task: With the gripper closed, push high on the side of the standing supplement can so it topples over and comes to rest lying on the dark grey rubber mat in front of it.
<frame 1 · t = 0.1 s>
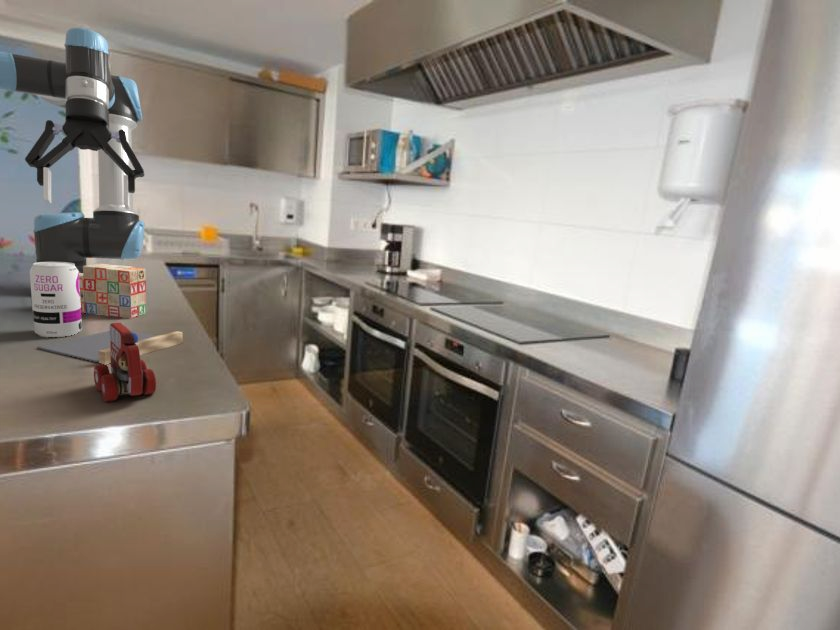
hand: (88, 204, 100), 28 cm above the countertop, tool tilted 20°, fingers open, 13 cm apart
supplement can: (59, 334, 104), on the countertop
mat: (110, 344, 100), on the countertop
stop rail: (144, 352, 97), on the countertop
stack of blocks: (100, 313, 124), on the countertop
toy fire truck: (125, 393, 78), on the countertop
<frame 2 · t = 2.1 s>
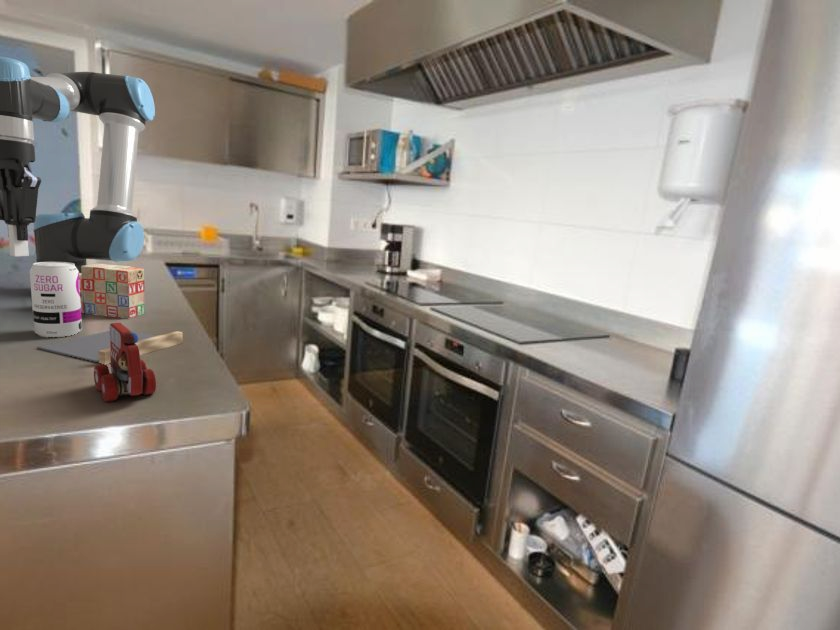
hand: (19, 255, 104), 16 cm above the countertop, tool pointing down, fingers closed
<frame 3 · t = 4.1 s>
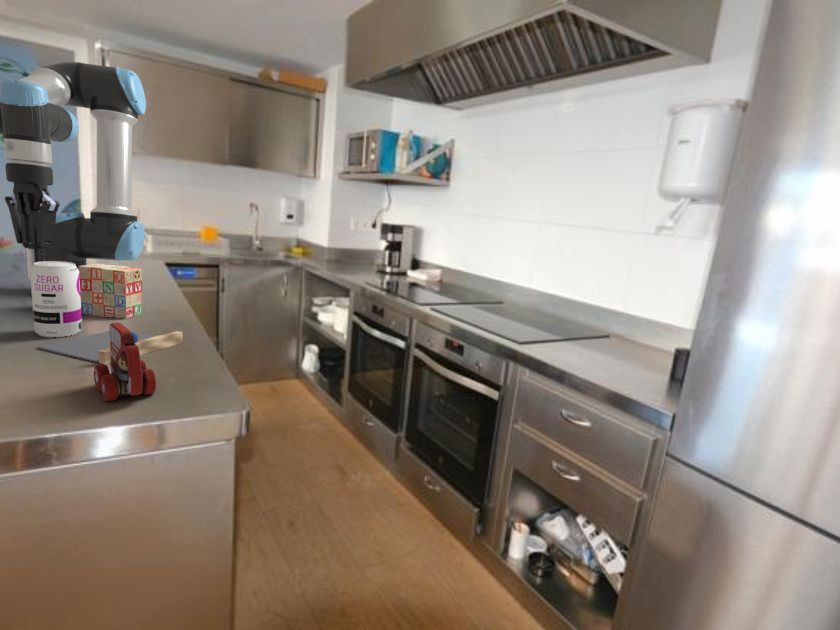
hand: (37, 278, 103), 11 cm above the countertop, tool pointing down, fingers closed
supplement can: (59, 333, 104), on the countertop, touching gripper
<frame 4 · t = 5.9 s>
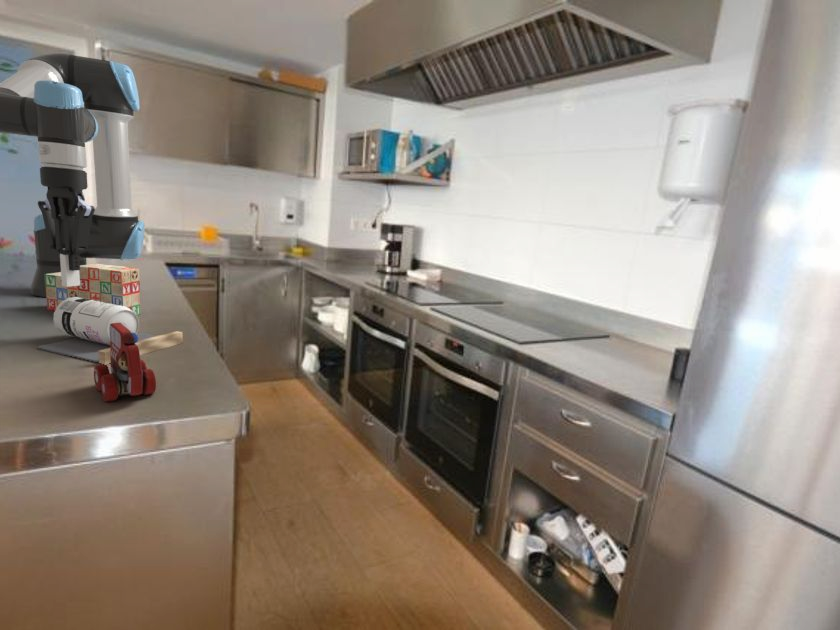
hand: (71, 285, 100), 11 cm above the countertop, tool pointing down, fingers closed
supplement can: (70, 315, 102), point 4 cm above the countertop, touching mat
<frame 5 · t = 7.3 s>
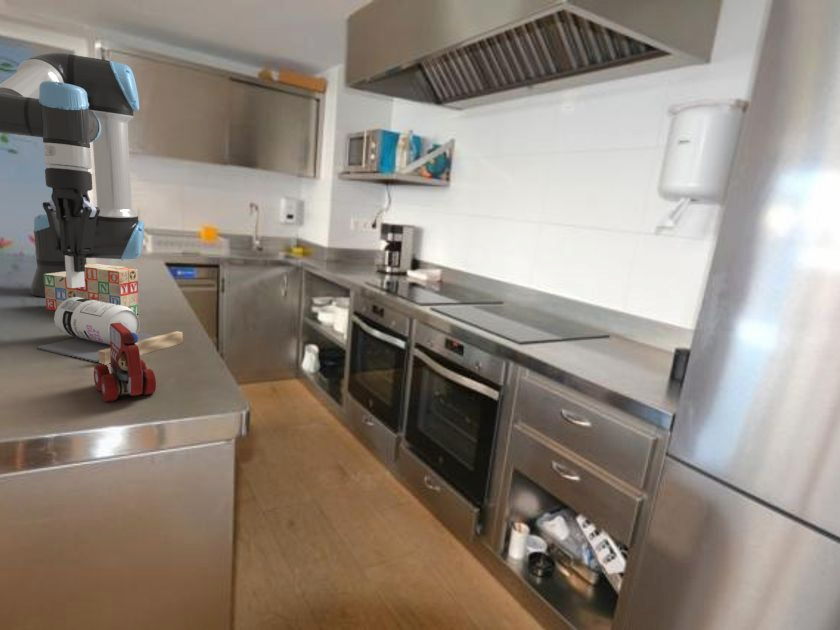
hand: (76, 286, 100), 11 cm above the countertop, tool pointing down, fingers closed
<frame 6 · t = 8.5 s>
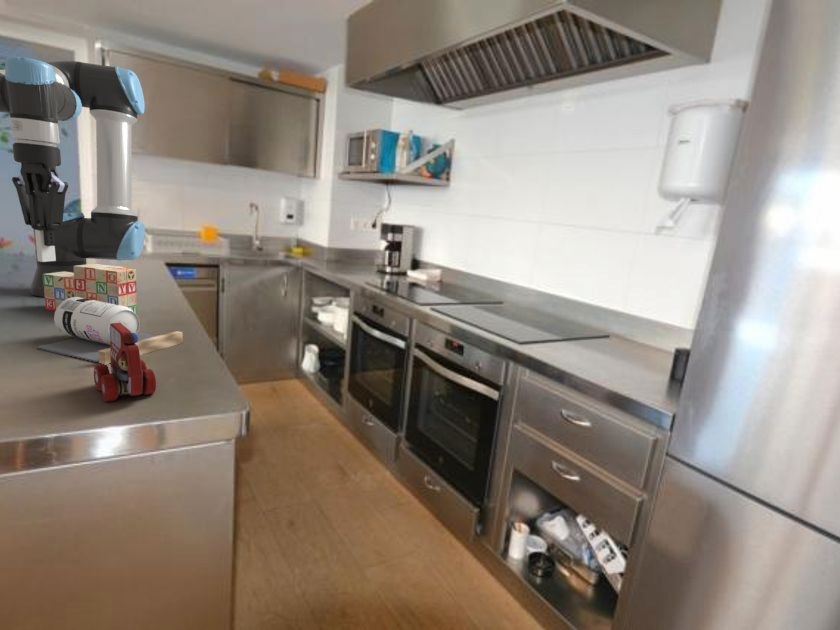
hand: (46, 260, 102), 15 cm above the countertop, tool pointing down, fingers closed
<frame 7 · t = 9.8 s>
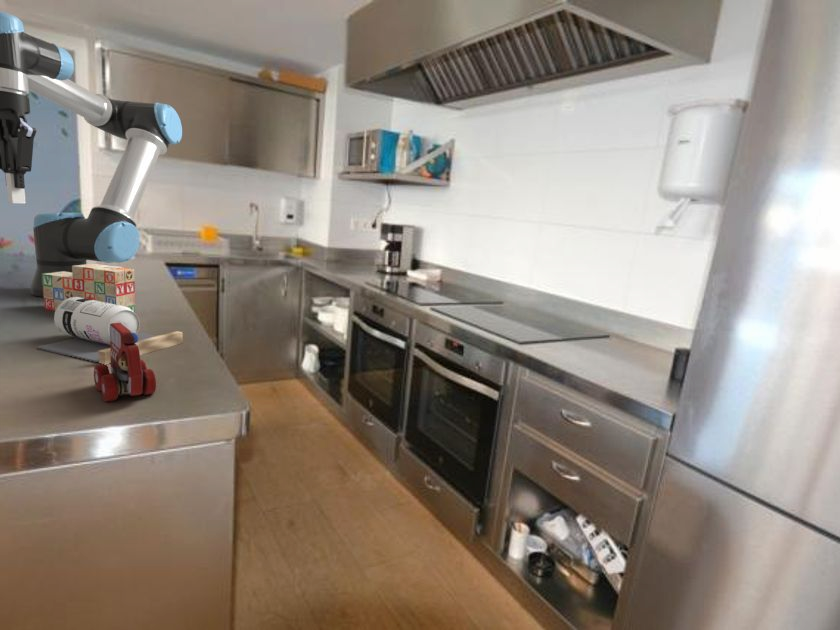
hand: (17, 203, 110), 26 cm above the countertop, tool pointing down, fingers closed
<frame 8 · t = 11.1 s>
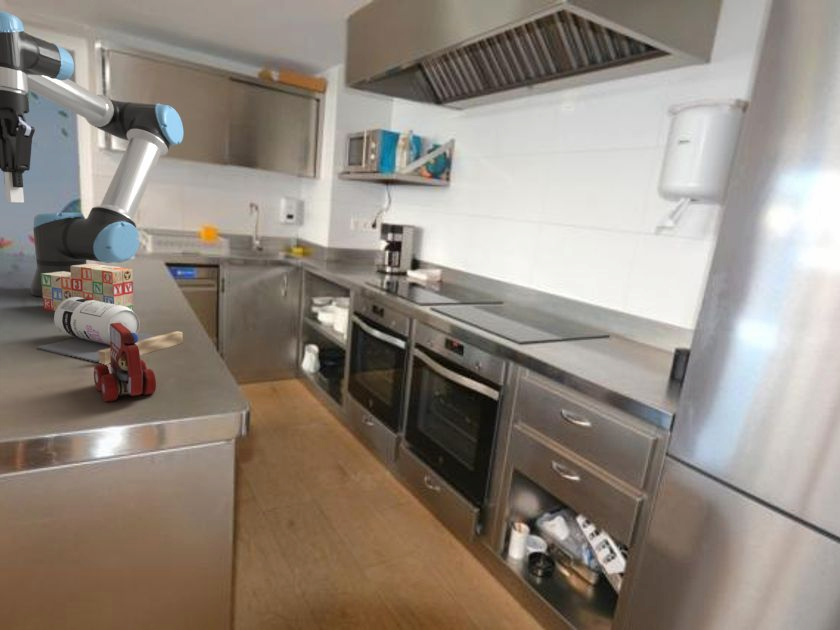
hand: (15, 202, 110), 26 cm above the countertop, tool pointing down, fingers closed
at the end: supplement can tilted 90°; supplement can inside the target area (10.7 cm from its centre), point 4.5 cm above the countertop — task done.
